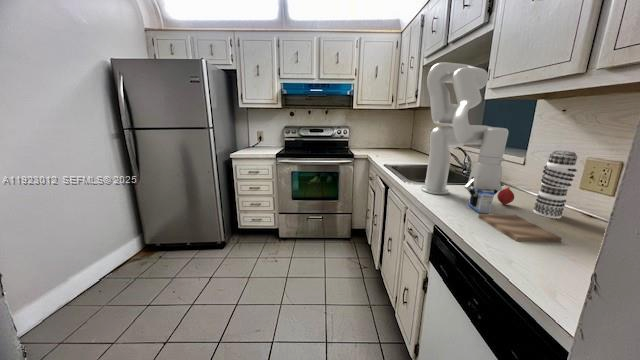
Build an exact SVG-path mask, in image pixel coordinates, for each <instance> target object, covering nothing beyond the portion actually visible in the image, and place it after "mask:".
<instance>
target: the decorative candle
mask: <svg viewBox="0 0 640 360" xmlns="http://www.w3.org/2000/svg"><path fill="white" fill-rule="evenodd" d="M578 159H579V156H578V155H577V154H576V153H575V152H574V151H570V150H569V151H567V150H553V152H552V153H549V157H548V161H547V162H546V165H544V166H543V171H542V172H543V174H542V175H541V179H540V184H541V187H540V190H539V192H538V194H537V195H536V197H537V198H536V199H535V200H536V202H535V203H534V206H533V211H532V212H533V213H534V214H536V215H538V216H541V217H544V218H549V219H550V218H551V219H556V218H557V219H561V218H562V216H561V215H563V212H564V210H565V208H564V207H565V206H566V204H565V203H566V202H567V200H566V199H567V193H568V190H570V188H571V186H572V183H570V182H572V181H574V179H573V178H574V177H576V175H575V174H574V172H577V171H578V170H577V169H576V166H577V165H576V163H577V162H578V161H577V160H578Z"/></svg>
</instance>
